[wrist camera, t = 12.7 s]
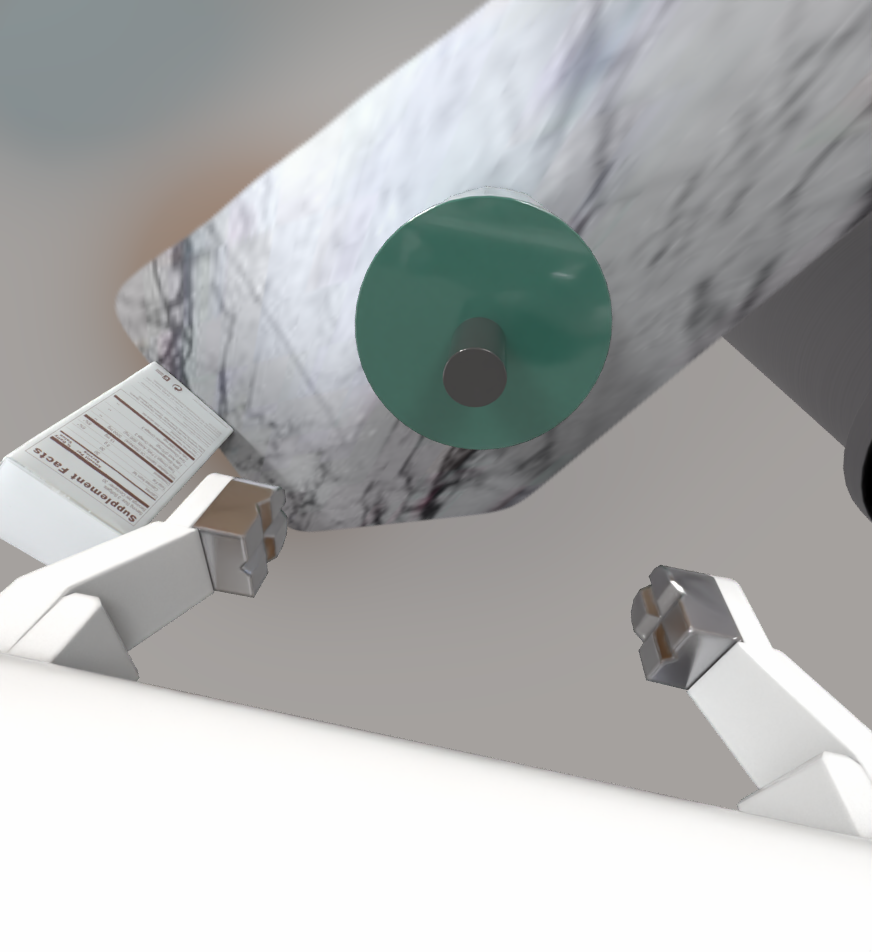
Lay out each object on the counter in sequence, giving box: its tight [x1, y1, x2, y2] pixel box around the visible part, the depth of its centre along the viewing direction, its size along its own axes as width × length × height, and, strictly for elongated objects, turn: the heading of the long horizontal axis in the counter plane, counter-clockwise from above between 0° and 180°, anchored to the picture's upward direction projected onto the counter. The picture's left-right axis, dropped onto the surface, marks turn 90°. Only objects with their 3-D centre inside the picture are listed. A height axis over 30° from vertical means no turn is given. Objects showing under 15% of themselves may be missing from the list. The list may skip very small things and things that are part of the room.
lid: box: [355, 194, 612, 450], centre depth 18 cm, size 11×11×5 cm
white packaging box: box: [0, 362, 233, 566], centre depth 30 cm, size 7×7×13 cm
